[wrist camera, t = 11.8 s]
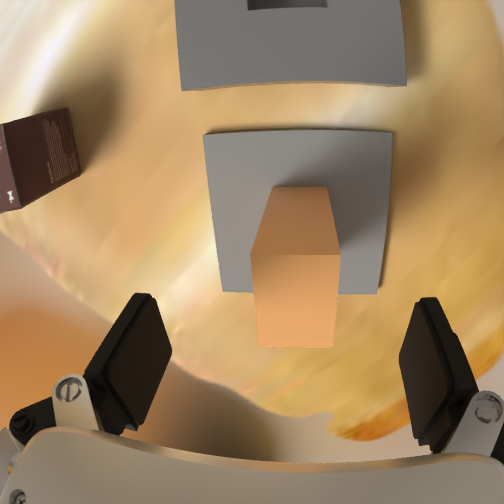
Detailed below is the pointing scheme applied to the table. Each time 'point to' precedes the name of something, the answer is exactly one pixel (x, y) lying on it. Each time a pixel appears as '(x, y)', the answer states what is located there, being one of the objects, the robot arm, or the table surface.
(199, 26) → the socket block
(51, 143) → the box
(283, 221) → the plug
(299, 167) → the mat
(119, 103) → the table surface
